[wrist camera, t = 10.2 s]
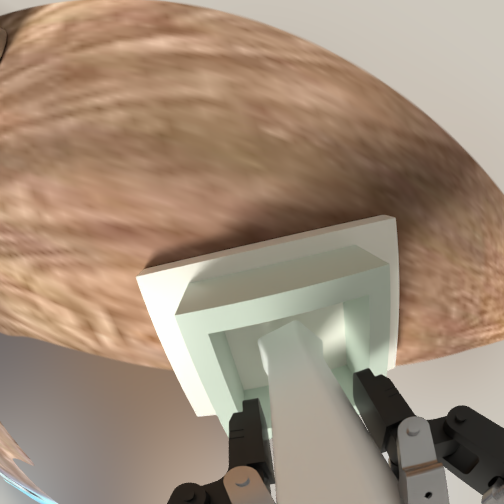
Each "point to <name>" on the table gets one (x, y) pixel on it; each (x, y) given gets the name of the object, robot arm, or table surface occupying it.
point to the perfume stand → (277, 310)
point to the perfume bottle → (318, 428)
